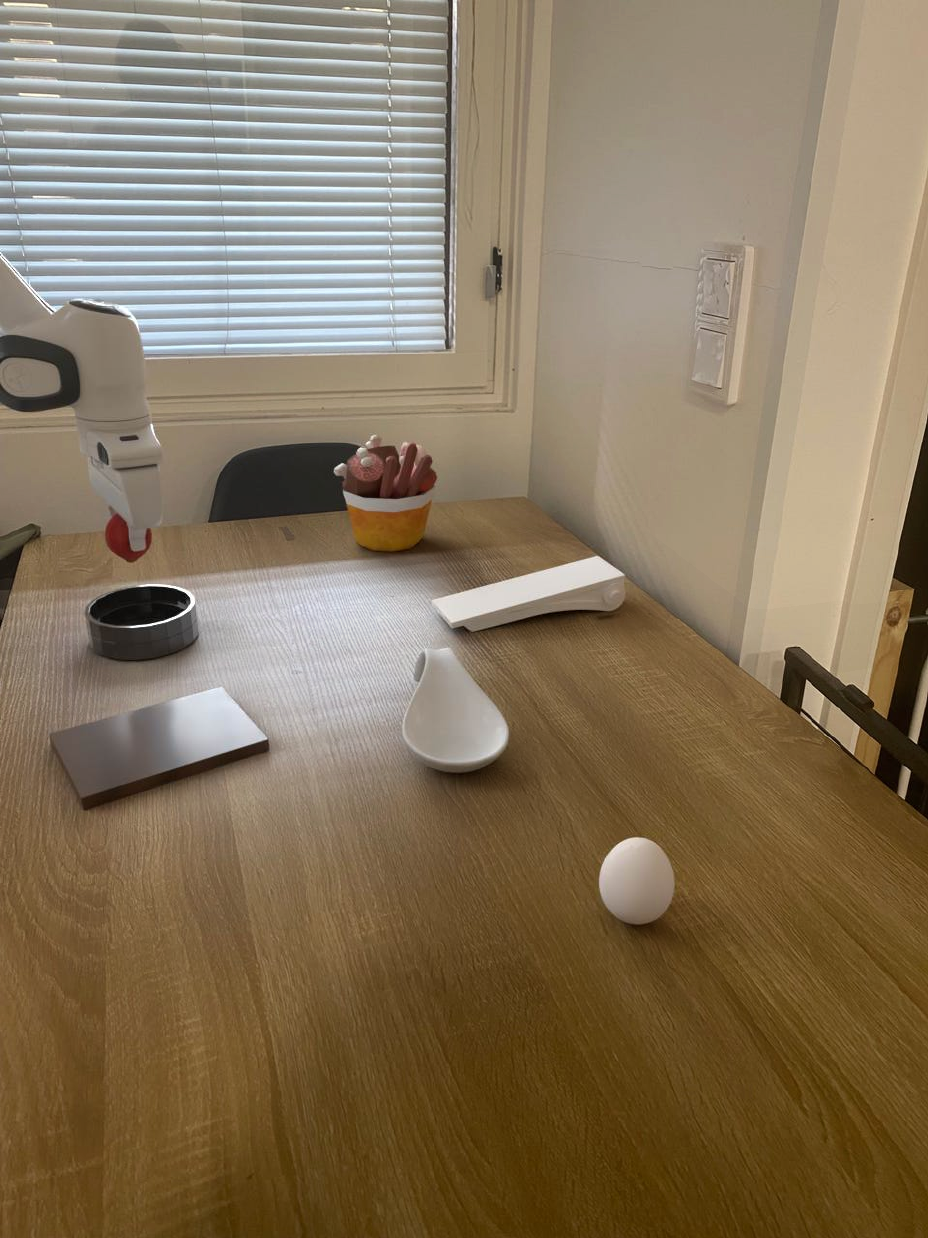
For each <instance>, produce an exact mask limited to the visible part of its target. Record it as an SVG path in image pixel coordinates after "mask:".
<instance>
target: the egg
mask: <svg viewBox="0 0 928 1238" xmlns="http://www.w3.org/2000/svg"><path fill="white" fill-rule="evenodd" d="M598 877H599V878H598V881H599V882H598V887H599V893H600V897H601V899H602V903H603V904H604V905H605V907H606V909H607V910H608V911H609V912H610V913H611V914H612V915H613V916H614V917H615V918H616V919H618V920H620V921H622V922H623V923H626V924H630V925H635V926H638V925H646V924H650V923H652V922H654V921H656V920H658V919H659V918H660V917H661V916H663V915H664V913H666V911H667V910H668V909H669V906H670V905H671V904H672V901H673V897H674V893H675V873H674V869H673V867H672V863H671V861H670V859H669V857H668V856H667V854H666V853H665V851H664V850H663V848H662V847H660V846H659V845H658V844H657V843H656V842H654V841H653V840H650V839H648V838H647V837H646V838H645V837H639V836H638V837H637V836H635V837H629V838H626V839H624V840H622V841H621V842H619V843H618V844H616V845H615V846H614V847H613V848H612V849H611V850H610V851H609V853H608V854H607V855H606V856H605V858H604V860H603V863H602V865H601V867H600V871H599V876H598Z"/></svg>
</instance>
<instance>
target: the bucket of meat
mask: <svg viewBox="0 0 928 1238" xmlns="http://www.w3.org/2000/svg"><path fill="white" fill-rule="evenodd" d="M382 440H383V437H382V436H380V435H379V434H374V435H371V436H370V439H369V441H367V442H366V443H365V447H359V448H358V449H357V451H356V453H355V454H353V455H352V456H350V457H349V458H348V459H347V461H346V464H345V463H343V462H342V463H340V464H338V465H337V466H335V467H334V468H333V474H334V475H335V476H336V477H343V479H344V480H343V481H341V483H342V484H341V486H342V494H343V497H344V499H345V504H346V509H347V511H348V515H349V519H350V523H351V528H352V531H353V535H354V539H355V541H356V542H357V544H359V546H361V547H363V548H367V549H369V550H370V551H375V552H399V551H403V550H409V549H412V548H413V547H414V546H415V545H416V544H418V543H419V542H420V541H421V540H422V539H423V537H424V535H425V531H426V526H427V523H428V518H429V515H430V510H431V507H432V506H431V505H432V501H433V498H434V494H435V492H436V485H435V484H436V482H437V480H438V475H437V472H436V471H435V470H434V469H433V468H432V467H431V466H432V465H433V463H434V461H433V458H432V456H431V454H430V455H429V454H427V452H426V449H425V448H424V447H423V446H422V445H421V444H417V443H415V442H408V441H404V442H402V445H401V448H400V453H399V452H398V450H397V448H396V446H395V445H382V446H381V443H382Z"/></svg>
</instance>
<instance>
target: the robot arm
mask: <svg viewBox="0 0 928 1238" xmlns="http://www.w3.org/2000/svg"><path fill="white" fill-rule="evenodd" d="M0 329H1V330H2V331H3V333H1V334H0V404H2V405H3V406H5V407H7V408H8V409H9V410H10V409H11V410H13V411H16V412H20V413H41V412H46V411H50V410H57V409H61V408H65V407H70V408H71V409H73V410H74V416H75V422H76V429H77V436H78V445H79V450H80V451H79V452H80V453H81V454H82V455H84V456H86V460H87V468H88V469H87V471H88V477H89V483H90V485H91V488H92V490H93V491H94V492H95V493H96V494H97V495H98V496H100V498H101V499H102V500H103V501H104V502H105V505H106V509H107V512H108V515H109V518H110V519H111V518H112V517H113V516H114V515H115V514H117V513H118V514H119V515H120V516H121V517H122V518H123V519H124V520H125V521H126V522H127V526H128V527H129V535H128V536H127V537H128V545H129V547H130V548H131V549H132V550H133V551H141V550H144V549H145V548H146V543H145V535H146V530H147V528H151V529H152V528H156V527H157V528H158V527H160V526H161V524H162V522H163V518H164V497H163V496H164V494H163V480H162V478H163V477H162V472H161V468H160V466H159V464H163V463H164V461H165V458H164V449H163V446H162V445H161V443H160V442H159V440H158V438H157V436H156V434H155V428H154V425H153V419H152V410H151V407H150V404H149V402H148V398H147V396H146V394H147V393H146V386H147V381H148V371H147V363H146V357H145V350H144V345H143V339H142V335H141V331H140V327H139V325H138V322H137V320H136V318H135V316H134V315H133V313H132V312H130V310H128V309H127V308H126V307H124V306H122V305H120V304H117V303H115V302H110V301H107V300H102V299H95V298H85V297H83V298H82V297H81V298H80V297H79V298H73V299H69V300H68V301H67V302H66V303H65V304H64V305H63V306H62V307H61V308H59V309H58V310H57V309H55V308H54V307H53V306H51V305H50V304H49V303H47V302H46V301H45V300H44V298H42V297H41V296H40V295H39V293H37V291H36V290H35V289H34V288H33V287H32V286H31V285H30V284H29V283H28V281H27V280H26V279H25V278H24V277H23V276H22V275H21V274H20V272H19V271H18V270H17V269H16V268H15V267H14V266H13V265H12V263H11V262H10V261H9V260H8V259H7V258H6V257H5V256H4V254H2V252H1V251H0Z"/></svg>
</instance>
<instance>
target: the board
mask: <svg viewBox="0 0 928 1238" xmlns="http://www.w3.org/2000/svg"><path fill="white" fill-rule="evenodd" d="M48 739H49V742H50V747H51V748H52V750H53V752H54V754H55V756H56V758H57V761H58V762H59V764H60V766H61V768H62V770H63V772H64V774H65V776H66V778H67V780H68V782H69V784H70V787H71V788H72V790H73V792H74V794H75V796H76V798H77V800H78V802H79V804H80V806H81V808H82V810H83V811H85V810H88V809H91V808H94V807H98V806H100V805H104V804H106V803H110V802H112V801H116V800H119V799H122V798H125V797H129V796H132V795H135V794H137V793H141V792H144V791H147V790H150V789H153V788H158V787H160V786H162V785H166V784H169V783H171V782H175V781H178V780H180V779H184V778H187V777H190V776H193V775H197V774H200V773H203V772H206V771H209V770H212V769H216V768H219V767H222V766H224V765H228V764H231V763H234V762H237V761H240V760H244V759H246V758H249V757H252V756H256V755H259V754H261V753H265V752H268V751H270V740H269V738H268V737H267V736H266V734H265V733H264V732H263V731H262V730H261V729H260V727H258V725H257V724H256V723H255V722H254V721H253V720H252V719H251V718H250V717H249V715H248V714H247V713H246V711H244V709H243V708H242V707H240V705H239V704H238V702H236V701H235V699H234V698H232V696H231V695H230V694H229V692H228V691H226V690H225V689H224V687H223V686H218V687H215V688H211V689H207V690H204V691H200V692H196V693H193V694H189V695H185V696H182V697H178V698H173V699H171V700H167V701H163V702H159V703H156V704H152V705H149V706H145V707H141V708H137V709H134V710H131V711H130V710H129V711H127V712H124V713H123V712H122V713H120V714H116V715H113V716H109V717H105V718H101V719H98V720H94V721H90V722H87V723H83V724H80V725H77V726H73V727H69V728H66V729H62V730H58V731H54V732H51V733H49V734H48Z"/></svg>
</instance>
